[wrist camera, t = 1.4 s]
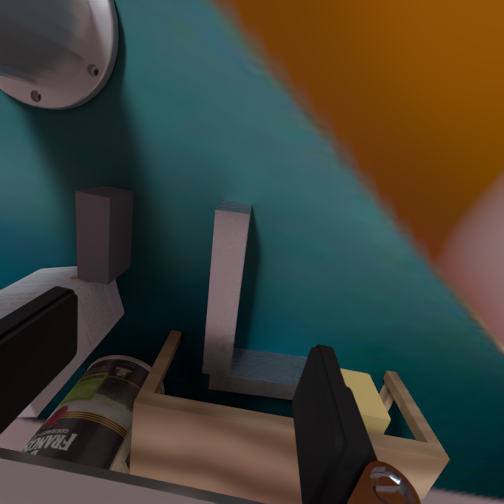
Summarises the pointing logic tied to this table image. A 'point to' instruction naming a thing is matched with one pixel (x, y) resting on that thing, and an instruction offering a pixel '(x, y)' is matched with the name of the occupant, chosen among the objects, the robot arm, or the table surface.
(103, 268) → the gray rectangular block
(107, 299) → the small box
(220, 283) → the l-shaped block
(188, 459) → the open wooden box
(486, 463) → the table surface
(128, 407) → the coffee can
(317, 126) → the table surface
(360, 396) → the cube
